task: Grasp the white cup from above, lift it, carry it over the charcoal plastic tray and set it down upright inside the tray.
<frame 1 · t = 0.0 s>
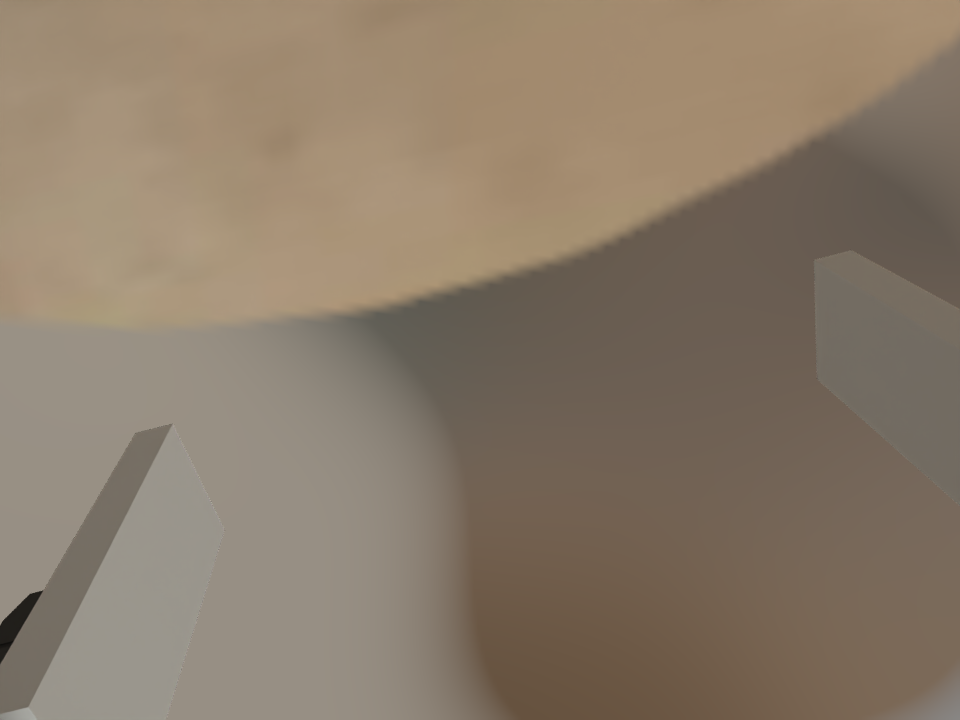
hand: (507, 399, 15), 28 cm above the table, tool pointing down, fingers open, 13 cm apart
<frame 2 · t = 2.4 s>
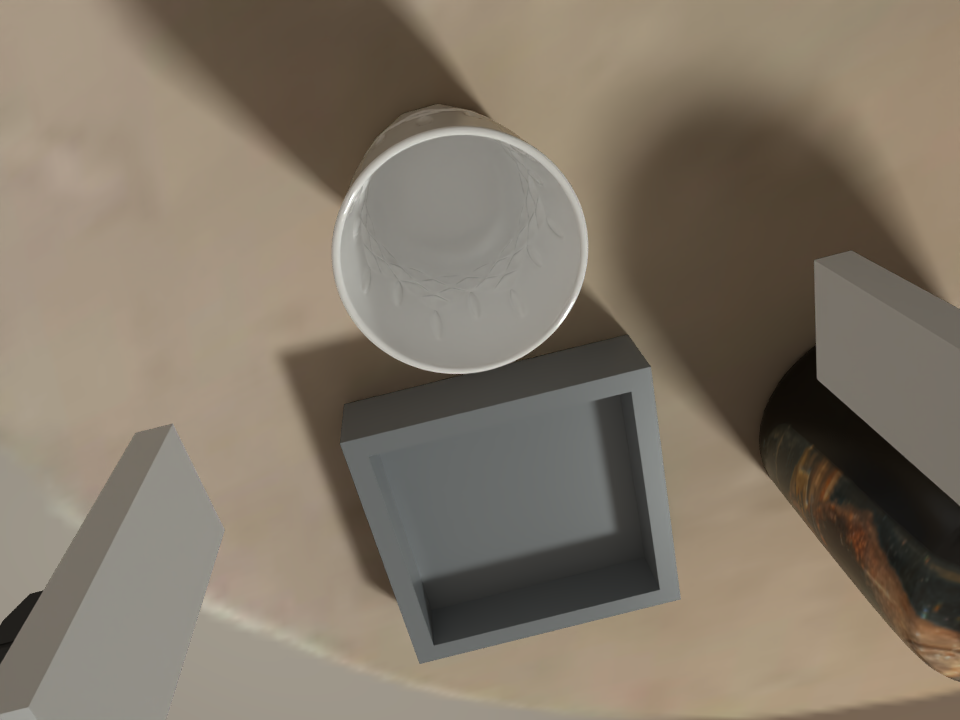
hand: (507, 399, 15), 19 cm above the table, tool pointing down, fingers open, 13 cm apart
white cup: (441, 185, 32), on the table
tray: (514, 485, 39), on the table
jar: (864, 411, 40), on the table
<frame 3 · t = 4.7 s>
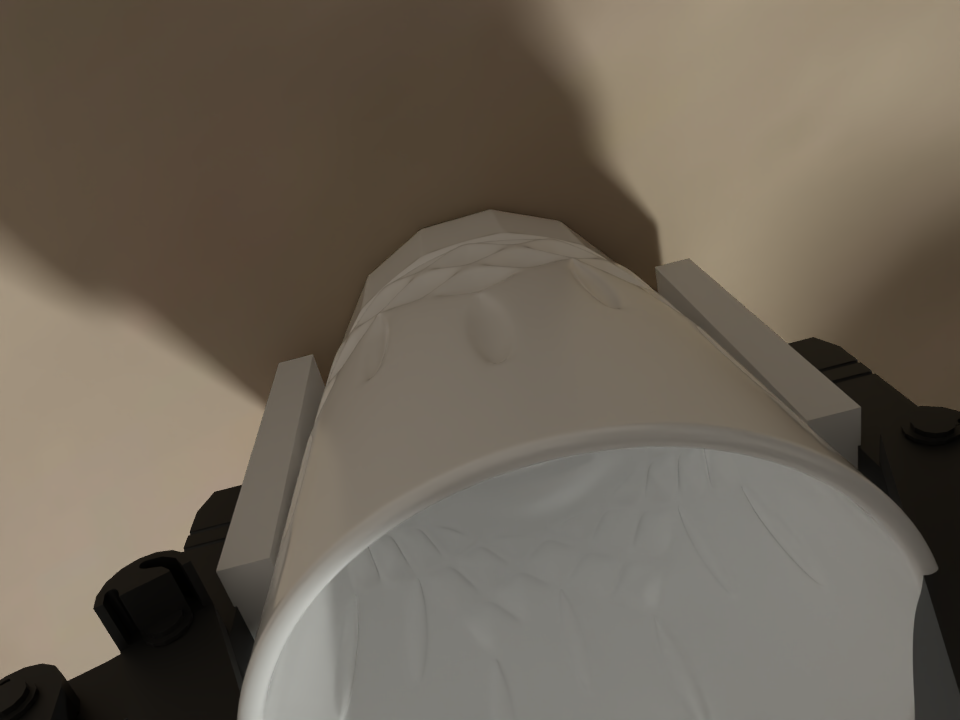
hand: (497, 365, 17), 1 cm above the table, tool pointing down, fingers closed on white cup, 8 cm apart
white cup: (492, 348, 17), on the table, touching gripper
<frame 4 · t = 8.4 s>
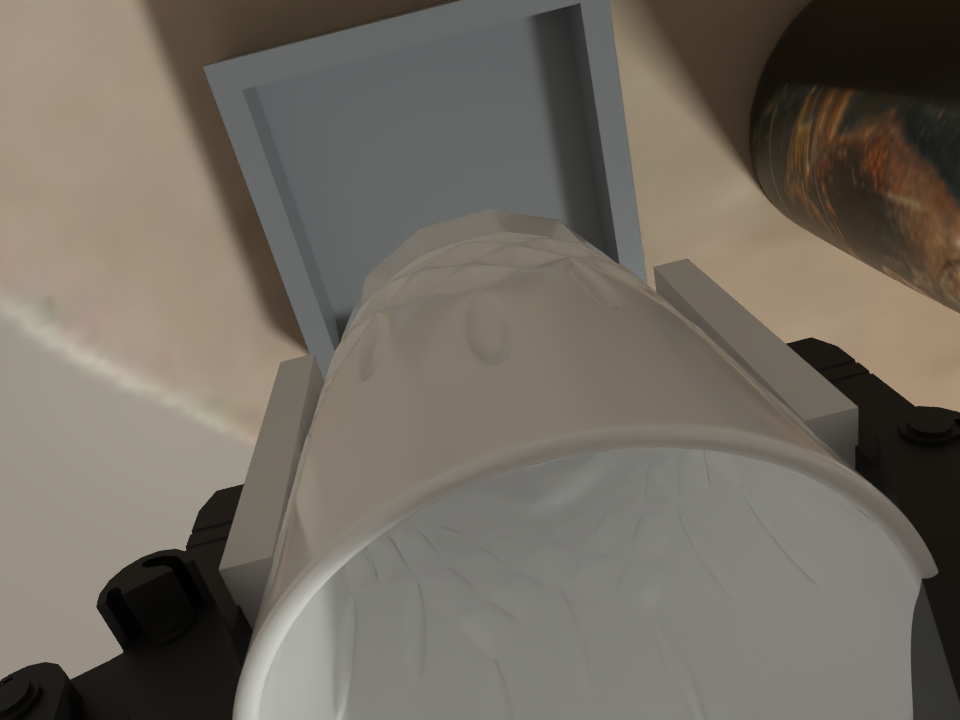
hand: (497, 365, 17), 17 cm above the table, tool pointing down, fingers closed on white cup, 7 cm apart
white cup: (490, 348, 17), point 16 cm above the table, touching gripper
tray: (446, 191, 31), on the table
jar: (879, 103, 32), on the table
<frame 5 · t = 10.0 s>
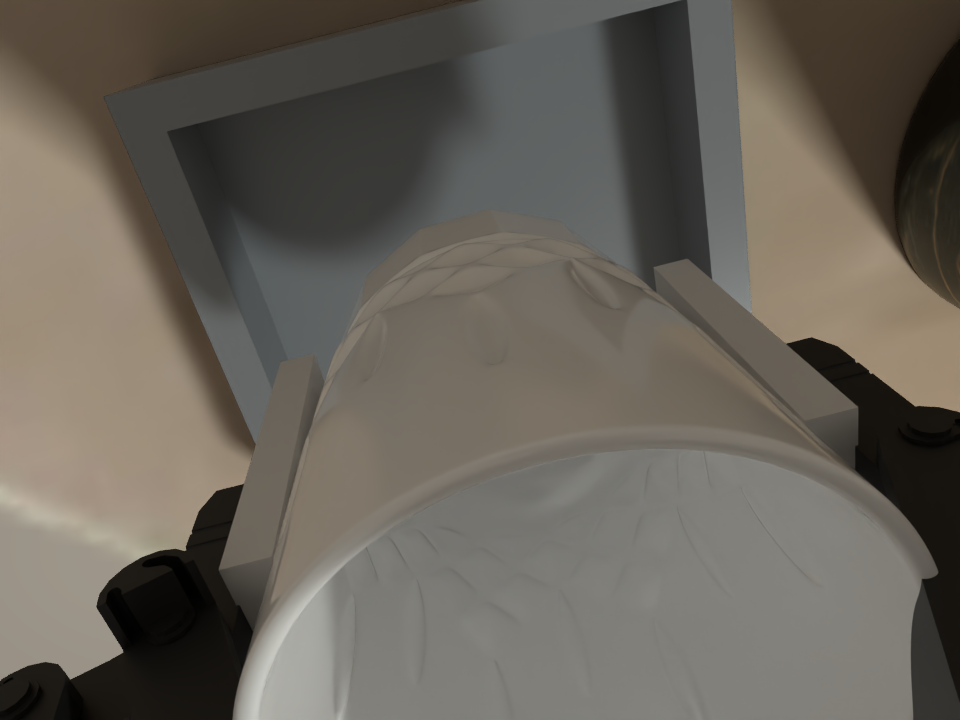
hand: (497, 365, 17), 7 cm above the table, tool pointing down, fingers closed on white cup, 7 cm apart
white cup: (491, 348, 17), point 6 cm above the table, touching gripper
tray: (472, 262, 23), on the table
when the fingers open (3 cm above the table, at t = 11.6 s): white cup drops 1 cm, resting on tray.
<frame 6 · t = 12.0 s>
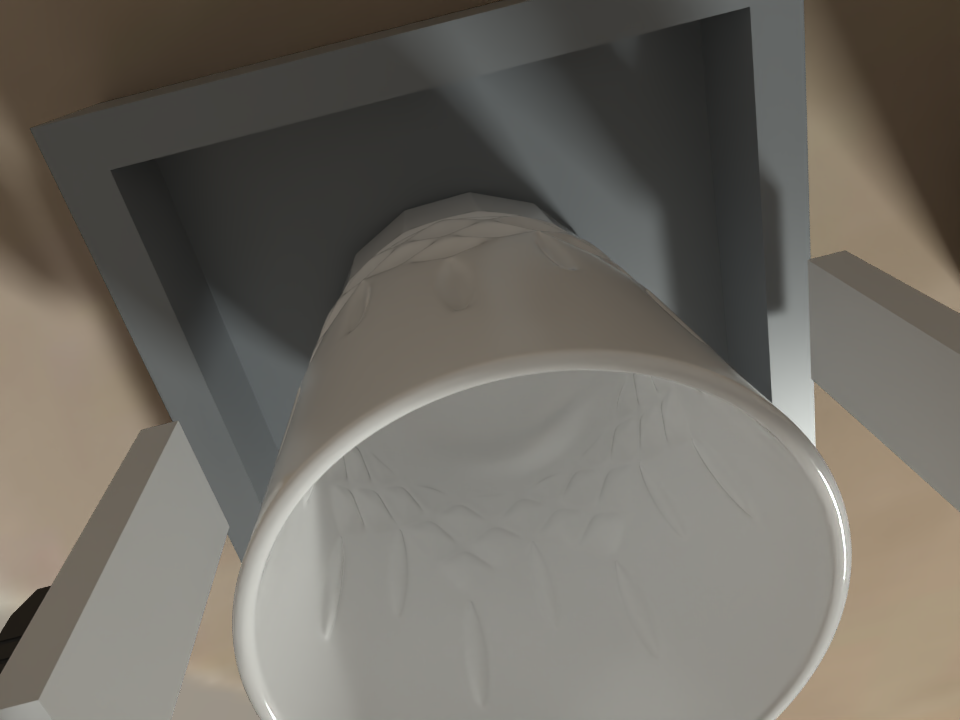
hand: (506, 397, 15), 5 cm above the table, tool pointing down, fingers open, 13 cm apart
white cup: (472, 323, 19), point 1 cm above the table, touching tray
tray: (481, 312, 19), on the table
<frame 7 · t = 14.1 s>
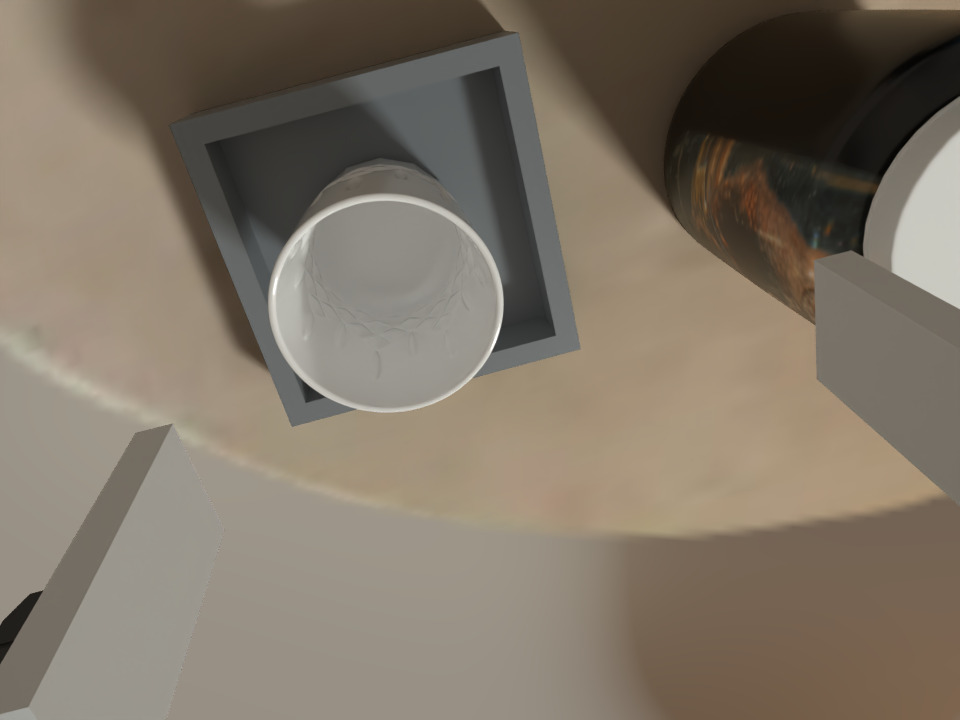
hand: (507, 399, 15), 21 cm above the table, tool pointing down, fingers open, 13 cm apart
white cup: (386, 231, 34), point 1 cm above the table, touching tray
tray: (393, 227, 35), on the table
jar: (780, 143, 36), on the table
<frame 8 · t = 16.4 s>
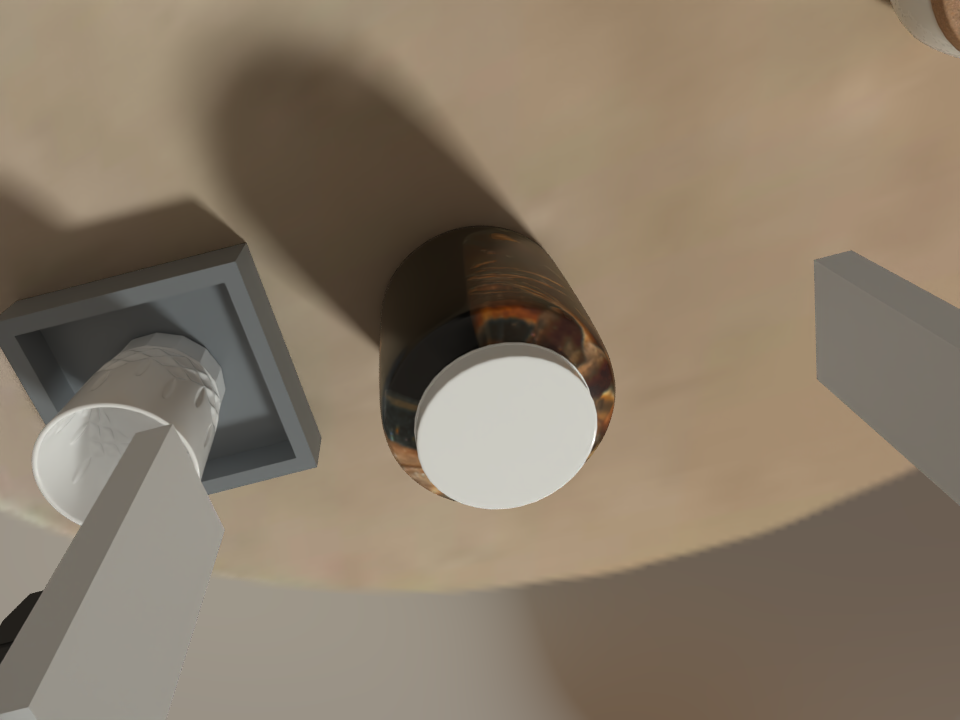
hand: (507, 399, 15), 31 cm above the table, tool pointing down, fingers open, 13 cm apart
white cup: (170, 379, 46), point 1 cm above the table, touching tray
tray: (178, 374, 47), on the table
jar: (473, 312, 48), on the table
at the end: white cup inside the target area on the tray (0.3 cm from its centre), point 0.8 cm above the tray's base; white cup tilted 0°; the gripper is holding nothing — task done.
